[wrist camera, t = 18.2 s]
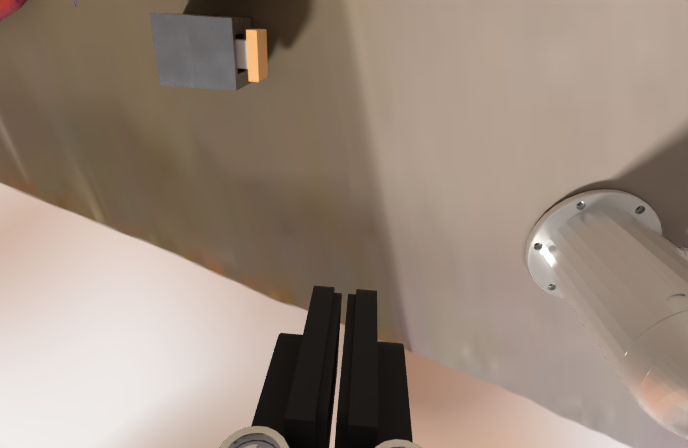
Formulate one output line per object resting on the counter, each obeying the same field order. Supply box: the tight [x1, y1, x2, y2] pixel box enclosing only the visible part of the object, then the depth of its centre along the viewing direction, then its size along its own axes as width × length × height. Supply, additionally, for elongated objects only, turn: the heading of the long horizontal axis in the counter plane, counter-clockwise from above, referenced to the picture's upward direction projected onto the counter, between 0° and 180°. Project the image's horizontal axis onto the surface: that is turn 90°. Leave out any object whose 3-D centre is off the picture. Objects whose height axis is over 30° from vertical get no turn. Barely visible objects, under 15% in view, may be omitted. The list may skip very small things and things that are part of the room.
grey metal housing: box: [150, 13, 253, 90], centre depth 33 cm, size 6×5×6 cm
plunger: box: [235, 29, 268, 82], centre depth 32 cm, size 5×4×3 cm
